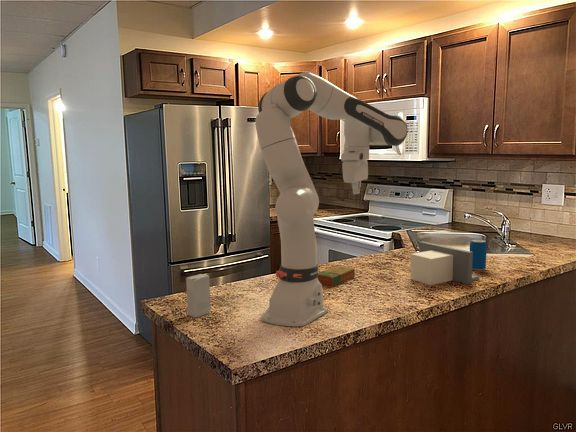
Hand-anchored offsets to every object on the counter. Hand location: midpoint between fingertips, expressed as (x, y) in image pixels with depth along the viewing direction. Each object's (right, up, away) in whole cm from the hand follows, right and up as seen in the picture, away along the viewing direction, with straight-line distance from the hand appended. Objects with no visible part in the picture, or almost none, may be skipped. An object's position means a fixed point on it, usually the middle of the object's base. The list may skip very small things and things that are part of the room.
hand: (356, 193), depth 166 cm
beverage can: (+54, -30, +27) cm, 67 cm away
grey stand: (+40, -31, +18) cm, 53 cm away
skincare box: (-52, -39, -22) cm, 68 cm away
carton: (-6, -33, +13) cm, 36 cm away
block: (+31, -32, +12) cm, 46 cm away
